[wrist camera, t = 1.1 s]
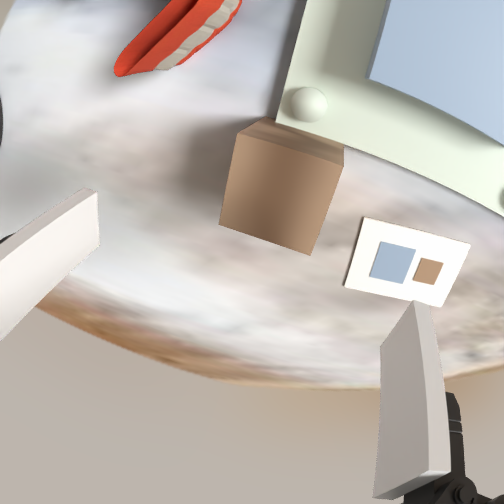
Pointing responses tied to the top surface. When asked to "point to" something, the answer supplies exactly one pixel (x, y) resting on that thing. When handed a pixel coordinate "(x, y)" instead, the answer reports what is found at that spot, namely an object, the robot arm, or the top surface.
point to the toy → (175, 35)
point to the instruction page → (405, 262)
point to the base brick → (445, 58)
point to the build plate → (380, 105)
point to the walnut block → (281, 184)
